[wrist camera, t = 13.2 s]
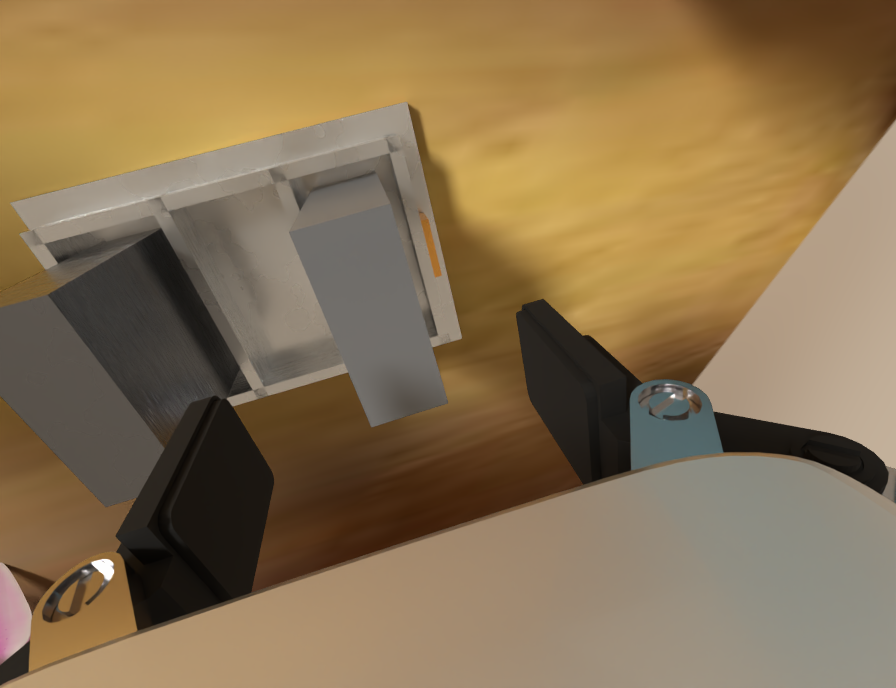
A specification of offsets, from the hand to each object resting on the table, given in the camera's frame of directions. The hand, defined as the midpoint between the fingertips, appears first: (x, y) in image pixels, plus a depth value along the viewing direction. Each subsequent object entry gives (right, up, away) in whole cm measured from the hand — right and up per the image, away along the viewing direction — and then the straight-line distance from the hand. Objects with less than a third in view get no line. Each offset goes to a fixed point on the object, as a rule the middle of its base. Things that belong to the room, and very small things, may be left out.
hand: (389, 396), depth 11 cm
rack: (-8, +5, +12) cm, 15 cm away
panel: (-3, +6, +11) cm, 13 cm away
